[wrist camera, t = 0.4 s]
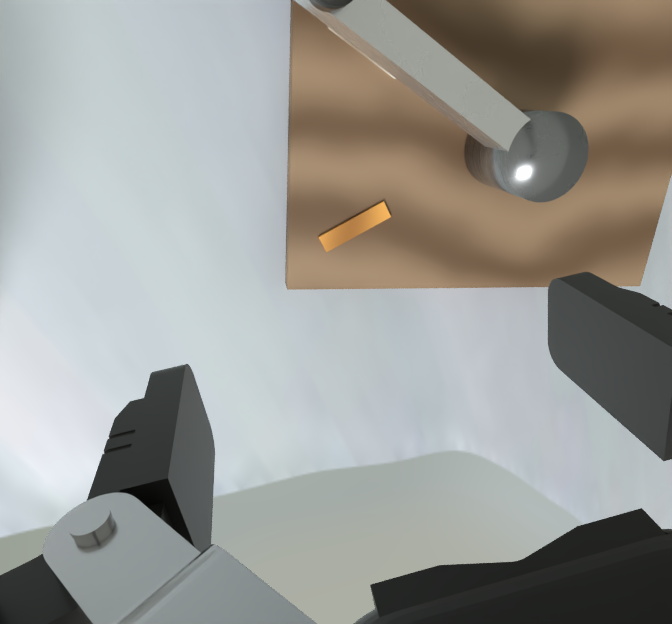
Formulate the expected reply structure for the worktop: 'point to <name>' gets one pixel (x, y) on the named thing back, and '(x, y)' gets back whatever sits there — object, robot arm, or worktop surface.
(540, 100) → the dial plate
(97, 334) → the worktop surface
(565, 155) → the lever
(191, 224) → the worktop surface
